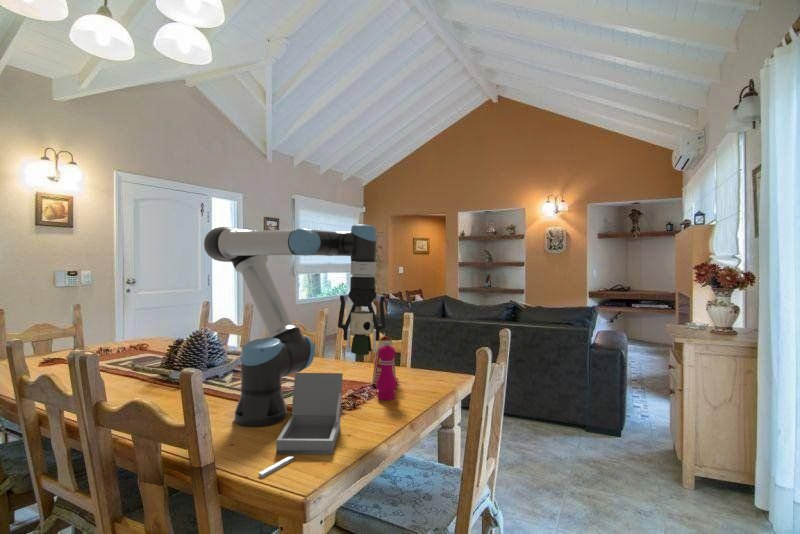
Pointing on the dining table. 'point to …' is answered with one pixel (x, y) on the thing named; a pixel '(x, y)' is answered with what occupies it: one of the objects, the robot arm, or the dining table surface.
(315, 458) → the dining table surface
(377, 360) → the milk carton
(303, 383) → the case
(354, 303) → the robot arm
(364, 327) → the character mug
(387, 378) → the pepper mill
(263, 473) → the rod
